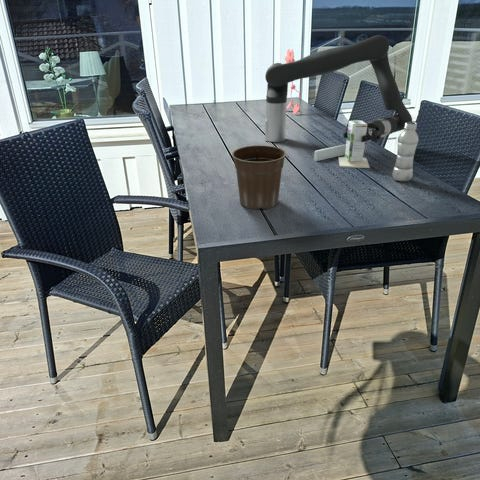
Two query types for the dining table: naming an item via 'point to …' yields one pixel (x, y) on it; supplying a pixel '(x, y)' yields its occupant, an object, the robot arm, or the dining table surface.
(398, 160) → the plastic bottle
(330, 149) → the low wall
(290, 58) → the figurine
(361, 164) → the resting pad
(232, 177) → the dining table surface
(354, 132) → the syrup box
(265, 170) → the plant pot
